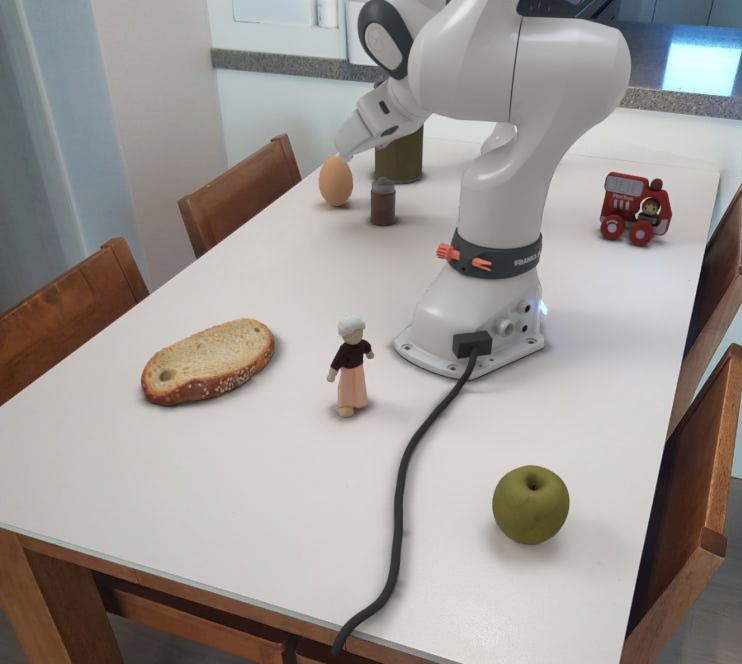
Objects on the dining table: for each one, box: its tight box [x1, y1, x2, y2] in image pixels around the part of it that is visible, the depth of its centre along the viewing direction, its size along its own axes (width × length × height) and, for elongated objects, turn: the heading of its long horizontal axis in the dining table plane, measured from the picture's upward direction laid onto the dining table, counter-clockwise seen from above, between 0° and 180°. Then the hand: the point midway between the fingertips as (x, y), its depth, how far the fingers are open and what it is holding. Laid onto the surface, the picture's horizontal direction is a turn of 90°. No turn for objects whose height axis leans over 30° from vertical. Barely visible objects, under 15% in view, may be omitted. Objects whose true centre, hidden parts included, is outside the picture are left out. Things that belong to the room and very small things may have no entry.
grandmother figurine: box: [326, 314, 375, 418], centre depth 91 cm, size 8×4×13 cm, turn 148°
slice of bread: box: [140, 317, 276, 406], centre depth 101 cm, size 18×18×4 cm
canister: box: [373, 78, 425, 185], centre depth 153 cm, size 11×10×20 cm
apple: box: [491, 464, 571, 546], centre depth 76 cm, size 8×8×7 cm
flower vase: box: [479, 122, 517, 155], centre depth 155 cm, size 13×18×25 cm
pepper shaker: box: [370, 177, 397, 227], centre depth 138 cm, size 5×5×8 cm
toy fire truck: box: [599, 171, 673, 247], centre depth 132 cm, size 7×12×10 cm, turn 60°
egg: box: [318, 155, 354, 207], centre depth 144 cm, size 7×7×9 cm
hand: (361, 152), depth 136 cm, fingers open, 8 cm apart
